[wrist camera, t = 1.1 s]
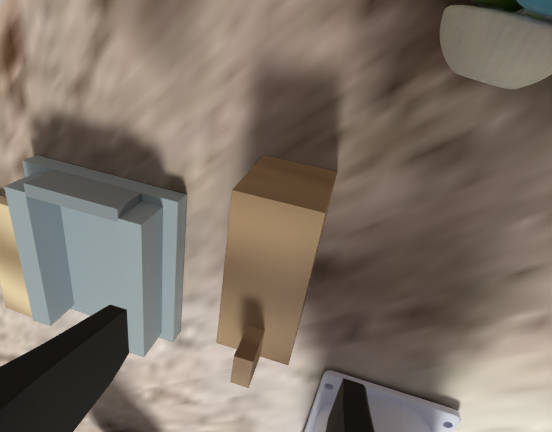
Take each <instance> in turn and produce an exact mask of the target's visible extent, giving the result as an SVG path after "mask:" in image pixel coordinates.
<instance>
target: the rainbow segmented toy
mask: <svg viewBox="0 0 552 432" xmlns="http://www.w3.org/2000/svg"><path fill="white" fill-rule="evenodd" d="M471 1H472V2H474V3H475V4H476V5H477V6H478V7H477V6H470V5H451V6H448V7H447V8H445V10H444V12H443V15H442V19H441V25H440V45H441V49H442V53H443V55H444V58H445V60H446V62H447V64H448V65H449V67H450V68H451V70H452V71H453V72H454V73H456V74H458V75H461V76H464V77H467V78H470V79H473V80H477V81H480V82H483V83H487V84H490V85H493V86H497V87H501V88H504V89H518V88H522V87H525V86H528V85H531V84H534V83H536V82H539V81H541V80H543V79H545V78H546V77H548V76H550V75H551V74H552V0H471Z"/></svg>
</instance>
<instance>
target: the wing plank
mask: <svg viewBox="0 0 552 432" xmlns="http://www.w3.org/2000/svg"><path fill="white" fill-rule="evenodd" d="M0 283H1V288H2V292H3V297H4V302H5V307H6V308H9V309H12V310H14V311H17V312H20V313H22V314H25V315H27V316H30V317H32V312H31V308H30V303H29V298H28V294H27V289H26V285H25V280H24V276H23V271H22V267H21V262H20V257H19V253H18V248H17V244H16V239H15V235H14V230H13V226H12V221H11V217H10V212H9V207H8V203H7V198H6V197H3V196H0Z"/></svg>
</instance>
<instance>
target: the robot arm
mask: <svg viewBox="0 0 552 432" xmlns="http://www.w3.org/2000/svg"><path fill="white" fill-rule="evenodd" d="M128 354H129V341H128V322H127V310H126V309H123V308H120V307H117V306H114V305H111V304H110V305H108V306H107V307H105V308H103V309H101V310H100V311H98V312H96V313H95V314H93V315H91V316H90V317H88V318H86V319H85V320H83V321H81V322H80V323H78V324H76V325H75V326H73V327H71V328H69V329H68V330H66V331H64V332H63V333H61V334H59V335H58V336H56V337H54V338H52V339H51V340H49V341H47V342H45V343H44V344H42V345H40V346H38V347H37V348H35V349H33V350H31V351H29V352H27V353H25V354H24V355H22V356H20V357H18V358H16V359H14V360H12V361H10V362H8V363H7V364H5V365H3V366H1V367H0V432H73V431H74V430H75V428H76V427H77V426H78V425H79V423H80V422H81V421H82V419H83V418H84V417H85V416H86V414H87V413H88V412H89V410H90V409H91V408H92V407H93V405H94V404H95V403H96V401H97V400H98V399H99V397H100V396H101V395H102V394H103V392H104V391H105V390H106V388H107V387H108V386H109V384H110V383H111V382H112V380H113V378H114V377H115V375H116V374H117V372H118V370H119V369H120V367H121V365H122V364H123V362H124V360H125V359H126V357H127V355H128ZM460 420H461V419H460V415H459V412H458V411H457V410H455V409H452V408H449V407H446V406H443V405H440V404H437V403H433V402H430V401H427V400H424V399H421V398H418V397H414V396H411V395H408V394H405V393H402V392H399V391H395V390H392V389H389V388H386V387H383V386H380V385H376V384H373V383H370V382H367V381H364V380H361V379H357V378H354V377H351V376H348V375H345V374H342V373H338V372H335V371H331V370H330V371H326V372H325V373H324V374H323V377H322V380H321V383H320V386H319V389H318V392H317V395H316V398H315V401H314V404H313V407H312V410H311V413H310V416H309V419H308V422H307V425H306V428H305V430H304V432H453V431H454V430H455V429H456V427H457V426H458V424H459V423H460Z"/></svg>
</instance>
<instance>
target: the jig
mask: <svg viewBox="0 0 552 432" xmlns="http://www.w3.org/2000/svg"><path fill="white" fill-rule="evenodd" d="M22 162H23V167H24V172H25V178H23V179H21V180H18V181H16V182H14V183H11V184H9V185H6V186H4V189H5V194H6V198H7V203H8V207H9V212H10V217H11V221H12V226H13V230H14V235H15V239H16V244H17V248H18V253H19V257H20V262H21V267H22V271H23V276H24V280H25V285H26V289H27V294H28V298H29V303H30V308H31V312H32V317H33V320H34V321H37V322H40V323H43V324H46V325H49V326H51V325H52V324H53V323H54V322H56V321H57V320H58V319H59V318H60V317H61V316H62V315H63V314H64V313H65V312H67V311H68V310H69V309H73V310H76V311H79V312H82V313H85V314H88V315H93V314H95V313H96V312H98V311H100V310H101V309H103V308H105V307H107V306H108V305H110V304H111V305H114V306H117V307H120V308H123V309H126V310H127V322H128V341H129V352H130V353H133V354H136V355H139V356H142V357H145V355H146V354H147V353H148V351H149V350H150V348H151V347H152V345H153V344H154V343H155V341H156V340H157V338H158V337H159V338H162V339H165V340H168V341H172V342H174V340H175V339H176V337H177V335H178V334H179V332H180V331H181V311H182V290H183V268H184V247H185V225H186V204H187V194H183V193H179V192H176V191H172V190H168V189H164V188H160V187H157V186H153V185H149V184H145V183H141V182H138V181H134V180H130V179H126V178H122V177H119V176H115V175H111V174H107V173H103V172H100V171H96V170H92V169H88V168H84V167H81V166H77V165H73V164H69V163H65V162H62V161H58V160H54V159H50V158H46V157H43V156H39V155H36V156H34V157H31V158H28V159H25V160H23V161H22Z"/></svg>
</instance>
